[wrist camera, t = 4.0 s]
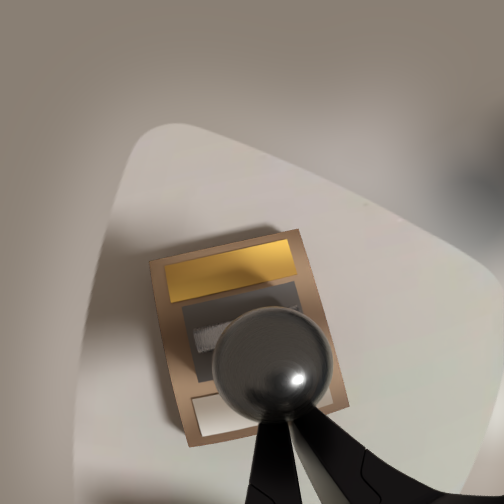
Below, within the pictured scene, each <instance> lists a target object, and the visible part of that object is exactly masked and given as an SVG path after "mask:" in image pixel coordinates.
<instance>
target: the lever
mask: <svg viewBox="0 0 504 504" xmlns="http://www.w3.org/2000/svg"><path fill="white" fill-rule="evenodd" d="M193 334H194V340H195V344H196V347H197V350H198V353H199V354H200V353H205V352H209V351H214V352H213V356H212V375H213V380H214V383H215V386H216V389H217V391H218V393H219V395H220V396H221V398H222V399H223V400H224V402H225V403H226V404H227V405H228V406H229V407H230V408H231V409H232V410H233V411H234V412H236V413H237V414H239V415H240V416H242V417H244V418H246V419H248V420H251V421H254V422H257V423H263V424H281V423H286V422H290V421H293V420H296V419H298V418H300V417H302V416H304V415H305V414H307V413H308V412H310V411H311V410H312V409H313V408H315V406H316V405H317V404H318V403H319V402H320V401H321V400H322V398H323V397H324V395H325V394H326V392H327V390H328V388H329V385H330V383H331V379H332V375H333V354H332V350H331V346H330V344H329V341H328V339H327V337H326V336H325V334H324V332H323V331H322V330H321V328H320V327H319V326H318V325H317V324H316V323H315V322H314V321H313V320H312V319H310V318H309V317H307V316H306V315H304V314H302V313H301V312H300V310H299V308H298V306H297V305H294V306H290V307H286V308H285V307H278V306H270V307H262V308H257V309H254V310H251V311H248V312H246V313H244V314H242V315H241V316H239V317H237V318H236V319H235V320H232V321H228V322H223V323H219V324H214V325H210V326H205V327H200V328H196V329H193Z"/></svg>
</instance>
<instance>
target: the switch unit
mask: <svg viewBox="0 0 504 504" xmlns="http://www.w3.org/2000/svg"><path fill="white" fill-rule="evenodd" d="M149 265H150V272H151V278H152V285H153V291H154V297H155V303H156V309H157V314H158V320H159V325H160V331H161V336H162V341H163V346H164V350H165V355H166V360H167V364H168V369H169V373H170V377H171V382H172V386H173V390H174V394H175V398H176V402H177V406H178V410H179V414H180V417H181V421H182V425H183V428H184V432H185V435H186V439H187V442H188V446H189V447H195V446H202V445H208V444H213V443H219V442H224V441H229V440H234V439H239V438H243V437H248V436H252V435H257V430H258V423H257V422H254V421H251V420H248V419H246V418H244V417H242V416H240V415H239V414H237V413H236V412H234V411H233V410H232V409H231V408H230V407H229V406H228V405H227V404H226V403H225V402H224V400H223V399H222V398H221V396H220V395H219V393H218V391H217V389H216V386H215V383H214V380H213V375H212V356H213V352H214V351H209V352H205V353H200V354H199V353H198V350H197V347H196V344H195V340H194V334H193V329H196V328H200V327H205V326H210V325H214V324H219V323H223V322H228V321H232V320H235V319H236V318H237V317H239V316H241V315H242V314H244V313H246V312H248V311H251V310H254V309H257V308H262V307H270V306H278V307H285V308H286V307H290V306H294V305H297V306H298V308H299V310H300V312H301V313H302V314H304V315H306V316H307V317H309V318H310V319H312V320H313V321H314V322H315V323H316V324H317V325H318V326H319V327H320V328H321V330H322V331H323V332H324V334H325V336H326V337H327V339H328V341H329V344H330V346H331V350H332V354H333V375H332V379H331V383H330V385H329V388H328V390H327V392H326V394H325V395H324V397H323V398H322V400H321V401H320V402H319V403H318V404H317V405H316V407H317V408H318V409H319V410H321V411H322V412H323V413H324V414H325V415H327V414H330V413H333V412H335V411H338V410H341V409H344V408H347V407H349V402H348V398H347V394H346V390H345V386H344V382H343V378H342V374H341V371H340V367H339V363H338V359H337V356H336V352H335V348H334V345H333V341H332V338H331V334H330V331H329V327H328V324H327V320H326V317H325V313H324V310H323V306H322V303H321V300H320V296H319V293H318V290H317V286H316V283H315V280H314V276H313V273H312V270H311V267H310V264H309V260H308V257H307V254H306V251H305V248H304V245H303V242H302V238H301V235H300V232H299V229H295V230H290V231H285V232H280V233H276V234H271V235H266V236H262V237H257V238H252V239H248V240H243V241H238V242H234V243H229V244H225V245H220V246H216V247H211V248H206V249H202V250H197V251H193V252H188V253H184V254H179V255H175V256H170V257H166V258H162V259H157V260H153V261H149Z"/></svg>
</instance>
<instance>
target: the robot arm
mask: <svg viewBox="0 0 504 504" xmlns="http://www.w3.org/2000/svg"><path fill="white" fill-rule="evenodd" d="M290 435H291V436H290ZM291 438H292V442H293V445H294V447H295V450H296V452H297V455H298V457H299V459H300V461H301V463H302V465H303V467H304V469H305V471H306V473H307V475H308V477H309V479H310V481H311V483H312V485H313V487H314V489H315V491H316V493H317V495H318V497H319V499H320V501H321V503H322V504H504V495H502V496H475V495H462V494H451V493H445V492H441V491H438V490H435V489H433V488H431V487H428V486H427V485H425V484H423V483H421V482H419V481H417V480H415V479H413V478H411V477H409V476H407V475H406V474H404V473H402V472H400V471H398V470H397V469H395V468H393V467H392V466H390V465H388V464H387V463H386V462H384V461H383V460H381V459H380V458H379V457H377V456H376V455H374V454H373V453H372V452H371V451H369V450H368V449H366V448H365V447H364V446H363V445H362V444H360V443H359V442H358V441H357V440H355V439H354V438H353V437H352V436H350V435H349V434H348V433H347V432H346V431H344V430H343V429H342V428H341V427H340V426H338V425H337V424H336V423H335V422H334V421H332V420H331V419H330V418H329V417H328V416H326V415H325V414H324V413H323V412H322V411H321V410H319V409H318V408H317V407H316V406H315V408H313V409H312V410H311V411H310V412H308V413H307V414H305V415H304V416H302V417H300V418H298V419H296V420H293V421H290V422H286V423H281V424H263V423H258V430H257V436H256V442H255V449H254V455H253V461H252V467H251V473H250V479H249V485H248V490H247V495H246V500H245V504H302V499H301V493H300V488H299V482H298V476H297V470H296V465H295V459H294V453H293V447H292V442H291ZM365 449H366V450H365Z"/></svg>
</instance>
